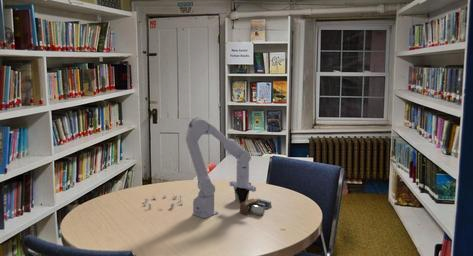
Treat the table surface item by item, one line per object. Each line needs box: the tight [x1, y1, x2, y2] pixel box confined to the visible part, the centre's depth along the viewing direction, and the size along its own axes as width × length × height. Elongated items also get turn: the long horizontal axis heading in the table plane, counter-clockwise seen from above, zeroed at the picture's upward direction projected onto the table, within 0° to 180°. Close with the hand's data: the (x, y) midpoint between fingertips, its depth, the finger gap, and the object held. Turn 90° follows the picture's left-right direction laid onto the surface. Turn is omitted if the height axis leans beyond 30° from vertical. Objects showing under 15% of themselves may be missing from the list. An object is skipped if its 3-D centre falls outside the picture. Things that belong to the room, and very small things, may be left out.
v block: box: [255, 198, 273, 210], centre depth 208 cm, size 7×8×3 cm
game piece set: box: [143, 192, 183, 211], centre depth 213 cm, size 19×20×4 cm
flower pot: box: [232, 181, 252, 203], centre depth 217 cm, size 9×9×9 cm
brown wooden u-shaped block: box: [239, 198, 258, 216], centre depth 201 cm, size 9×4×5 cm, turn 139°
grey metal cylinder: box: [248, 204, 266, 217], centre depth 200 cm, size 10×4×4 cm, turn 50°
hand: (242, 203), depth 203 cm, fingers closed
